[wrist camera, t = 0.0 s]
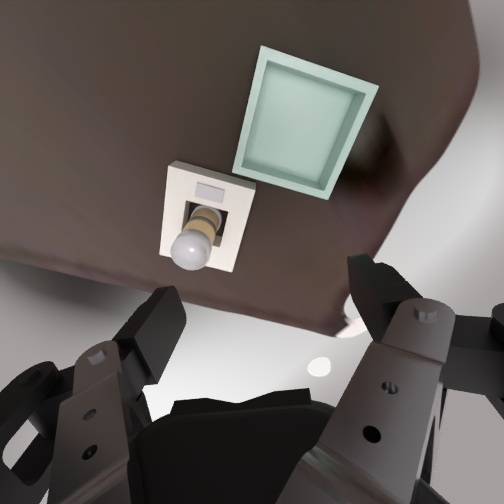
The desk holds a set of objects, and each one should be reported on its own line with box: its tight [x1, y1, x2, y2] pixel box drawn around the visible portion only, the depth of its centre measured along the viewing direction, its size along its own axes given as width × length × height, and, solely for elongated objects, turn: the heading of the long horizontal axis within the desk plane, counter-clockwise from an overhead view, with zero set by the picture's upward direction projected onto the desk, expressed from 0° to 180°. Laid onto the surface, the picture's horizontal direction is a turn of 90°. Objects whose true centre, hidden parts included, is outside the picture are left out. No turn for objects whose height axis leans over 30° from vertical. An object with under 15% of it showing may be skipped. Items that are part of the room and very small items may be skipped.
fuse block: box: [160, 160, 256, 272], centre depth 33 cm, size 12×10×3 cm
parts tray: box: [232, 45, 379, 200], centre depth 27 cm, size 11×11×4 cm
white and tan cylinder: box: [170, 204, 223, 270], centre depth 30 cm, size 4×4×10 cm
